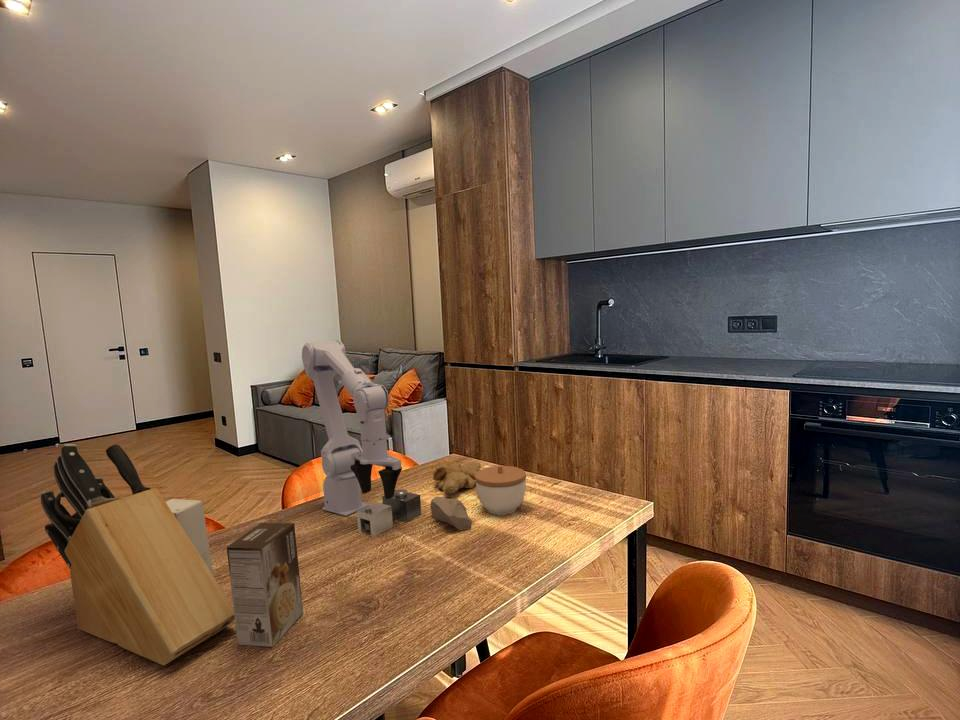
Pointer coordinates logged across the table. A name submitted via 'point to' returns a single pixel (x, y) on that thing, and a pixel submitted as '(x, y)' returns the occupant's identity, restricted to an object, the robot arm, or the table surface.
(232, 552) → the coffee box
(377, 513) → the notched block with hole
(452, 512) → the concrete fragment
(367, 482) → the robot arm
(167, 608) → the knife block
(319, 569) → the table surface
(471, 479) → the ginger root
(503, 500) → the lidded bowl
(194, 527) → the skincare box
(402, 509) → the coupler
